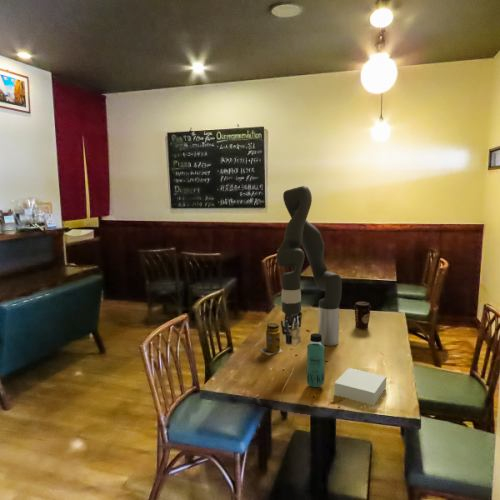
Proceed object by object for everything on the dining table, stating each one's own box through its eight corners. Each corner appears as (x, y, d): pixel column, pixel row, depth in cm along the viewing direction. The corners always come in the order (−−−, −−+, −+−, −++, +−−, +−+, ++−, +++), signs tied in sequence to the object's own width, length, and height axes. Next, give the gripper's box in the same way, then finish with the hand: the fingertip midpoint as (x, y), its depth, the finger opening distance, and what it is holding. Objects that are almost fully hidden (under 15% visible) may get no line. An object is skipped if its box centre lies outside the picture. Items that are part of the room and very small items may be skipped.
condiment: (283, 351, 187) (283, 325, 185) (268, 355, 182) (268, 329, 181) (274, 346, 193) (273, 321, 191) (258, 350, 188) (258, 324, 187)
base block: (348, 380, 159) (348, 367, 158) (385, 389, 152) (386, 376, 151) (334, 396, 148) (334, 382, 147) (374, 406, 140) (374, 392, 139)
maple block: (289, 339, 168) (289, 325, 167) (300, 342, 166) (300, 327, 165) (283, 344, 164) (283, 329, 163) (295, 346, 162) (294, 331, 161)
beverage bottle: (304, 383, 157) (304, 331, 154) (322, 382, 157) (322, 330, 154) (308, 391, 150) (308, 338, 147) (326, 390, 151) (327, 337, 148)
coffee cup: (372, 326, 216) (373, 302, 214) (368, 331, 209) (368, 306, 207) (356, 324, 220) (356, 300, 218) (351, 328, 214) (351, 304, 212)
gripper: (291, 294, 170) (291, 334, 173) (273, 303, 158) (274, 346, 161) (308, 296, 166) (308, 337, 169) (291, 305, 154) (292, 349, 157)
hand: (292, 341), depth 165 cm, fingers closed on maple block, 5 cm apart
